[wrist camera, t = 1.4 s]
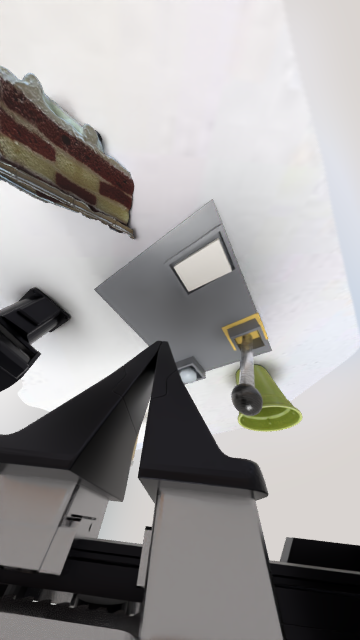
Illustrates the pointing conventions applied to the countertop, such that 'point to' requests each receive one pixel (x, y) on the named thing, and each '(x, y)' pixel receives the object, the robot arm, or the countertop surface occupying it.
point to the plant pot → (269, 406)
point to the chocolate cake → (59, 156)
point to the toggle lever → (247, 382)
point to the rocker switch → (203, 266)
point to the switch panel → (187, 299)
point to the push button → (188, 375)
